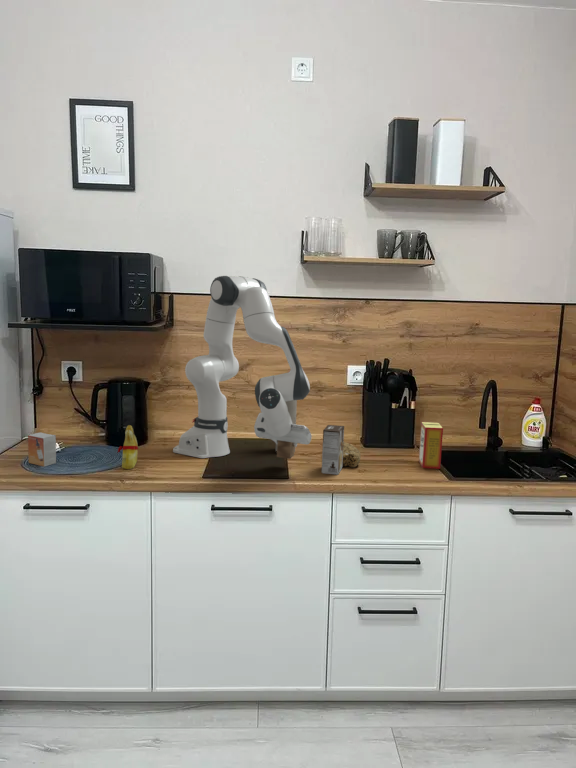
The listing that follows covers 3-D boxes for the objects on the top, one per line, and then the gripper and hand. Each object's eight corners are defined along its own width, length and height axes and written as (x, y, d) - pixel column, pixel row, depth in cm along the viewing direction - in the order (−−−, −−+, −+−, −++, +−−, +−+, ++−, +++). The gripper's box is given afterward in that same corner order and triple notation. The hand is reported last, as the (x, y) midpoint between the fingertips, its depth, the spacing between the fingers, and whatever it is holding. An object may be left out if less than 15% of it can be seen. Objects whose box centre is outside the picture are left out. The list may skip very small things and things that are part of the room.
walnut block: (276, 456, 209) (278, 435, 208) (281, 453, 214) (282, 432, 213) (289, 458, 208) (291, 437, 206) (294, 455, 213) (295, 434, 211)
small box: (28, 463, 208) (27, 435, 206) (40, 459, 213) (39, 431, 211) (44, 467, 204) (43, 438, 203) (56, 463, 209) (55, 434, 208)
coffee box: (325, 466, 216) (327, 424, 213) (342, 467, 214) (344, 425, 212) (321, 473, 207) (322, 429, 205) (338, 475, 206) (340, 431, 203)
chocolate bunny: (140, 461, 215) (139, 421, 212) (134, 470, 204) (134, 428, 202) (121, 461, 214) (120, 421, 212) (114, 470, 203) (114, 428, 201)
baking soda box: (440, 468, 217) (443, 427, 215) (422, 467, 218) (425, 426, 215) (435, 461, 226) (438, 421, 224) (418, 460, 227) (421, 420, 224)
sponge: (362, 471, 215) (359, 447, 234) (360, 453, 212) (356, 429, 231) (327, 476, 217) (327, 451, 235) (325, 457, 214) (324, 434, 232)
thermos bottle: (272, 451, 233) (273, 383, 228) (280, 447, 240) (282, 380, 235) (289, 454, 229) (292, 385, 225) (298, 450, 236) (300, 382, 232)
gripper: (310, 419, 199) (316, 440, 209) (255, 412, 205) (263, 432, 216) (305, 435, 195) (311, 455, 206) (249, 427, 201) (258, 447, 212)
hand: (286, 443), depth 211 cm, fingers closed on walnut block, 5 cm apart
